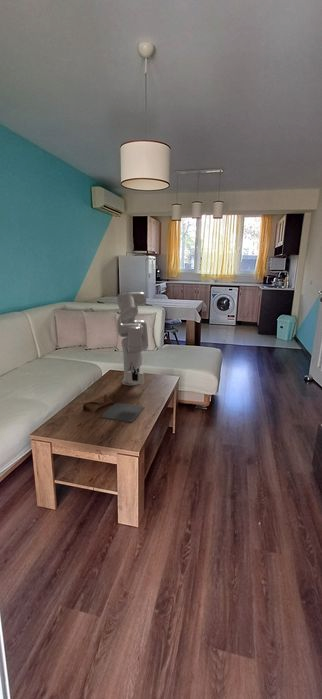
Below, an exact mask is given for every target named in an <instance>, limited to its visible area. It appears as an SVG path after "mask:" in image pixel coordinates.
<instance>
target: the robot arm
mask: <svg viewBox="0 0 322 699" xmlns="http://www.w3.org/2000/svg"><path fill="white" fill-rule="evenodd" d="M116 301H117V305H118V309H119V312H120V315H119V317H118V318H117V321H116V323H117V333H118V336H120V337H121V338H122V340H121V342H120V343H121V349H122V356H123V357H122V358H123V379H122V380H121V383H122V385H124V386H130V387H131V386H137V385H139V384H132V383H128V372H129V371H131V373H132V380H133V381H138V374H137V372H141V369H140V368H141V367H142V364H143V363H142V362H143V361H142V360H143V359H142V352H143V351H144V352H145V351H147V350H148V348H149V336H148V325H147V323H146V321H145V320H142V319H138V320H136V317H137V315H138V314H139V309H138V307H143V306H146V304H147V296H146V293H144V292H143V291H129V292H128V291H127V292H123V293H119V294H118V295H117V296H116Z"/></svg>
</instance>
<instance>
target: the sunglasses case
mask: <svg viewBox="0 0 322 699" xmlns="http://www.w3.org/2000/svg"><path fill="white" fill-rule="evenodd" d="M115 403H116V402H115V401H114V400H112V399H111V397H109V396H108V395H107V394H104V395H102V396H100V397H98V398H96V399H93V400H91V401H89V402H86V403H84V404H83V405H82V410H83V411H86V412H89V413H93V414H94V413H97V412H98V411H99V410H100V411H101V410H102V409H104V408H106V407H108V406H110V405H112V404H115Z"/></svg>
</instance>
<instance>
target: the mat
mask: <svg viewBox="0 0 322 699" xmlns="http://www.w3.org/2000/svg"><path fill="white" fill-rule="evenodd" d="M144 409H145V406H141V405H133V404H127V403H126V404H125V403H119V402H118V403H117V402H115V403H113V405H112V406H110V407H109V408H108V409H107V410H106V411H105V412H103V414H102V415H101V416H100V419H105V420H112V421H119V422H126V423H131V424H133V422H134V421H135V420H136V418H138V417H139V415H140V414H141V413H142V412H143V410H144Z"/></svg>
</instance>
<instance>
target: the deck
mask: <svg viewBox="0 0 322 699" xmlns="http://www.w3.org/2000/svg"><path fill="white" fill-rule="evenodd" d="M137 374H138V381H133V380H132V373H131V371H129V372H128V383H132V384H138V385H144V384H145V372H141V371H140V372H137Z"/></svg>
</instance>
